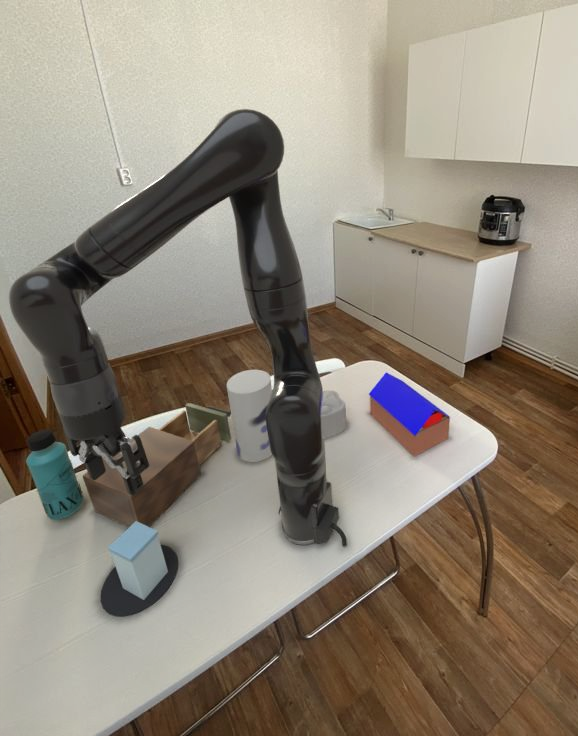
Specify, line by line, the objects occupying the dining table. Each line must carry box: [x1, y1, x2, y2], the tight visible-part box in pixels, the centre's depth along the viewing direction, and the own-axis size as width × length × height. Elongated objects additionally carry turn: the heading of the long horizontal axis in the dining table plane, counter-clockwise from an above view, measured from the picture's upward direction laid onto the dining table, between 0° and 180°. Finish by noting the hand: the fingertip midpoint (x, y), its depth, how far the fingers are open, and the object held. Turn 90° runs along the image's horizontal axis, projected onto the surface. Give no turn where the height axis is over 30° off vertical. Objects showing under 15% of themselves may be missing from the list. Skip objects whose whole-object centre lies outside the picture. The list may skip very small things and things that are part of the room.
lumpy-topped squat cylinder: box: [321, 390, 347, 440], centre depth 103 cm, size 10×13×9 cm
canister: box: [107, 521, 168, 600], centre depth 65 cm, size 5×5×10 cm
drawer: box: [157, 402, 232, 466], centre depth 95 cm, size 19×13×8 cm
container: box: [226, 369, 273, 463], centre depth 93 cm, size 10×10×20 cm
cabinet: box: [82, 426, 202, 529], centre depth 83 cm, size 16×14×10 cm
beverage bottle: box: [25, 428, 84, 521], centre depth 77 cm, size 6×7×20 cm
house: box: [368, 372, 451, 457], centre depth 102 cm, size 12×20×12 cm, turn 32°
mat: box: [100, 543, 179, 618], centre depth 67 cm, size 12×12×1 cm
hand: (117, 483), depth 61 cm, fingers open, 8 cm apart
